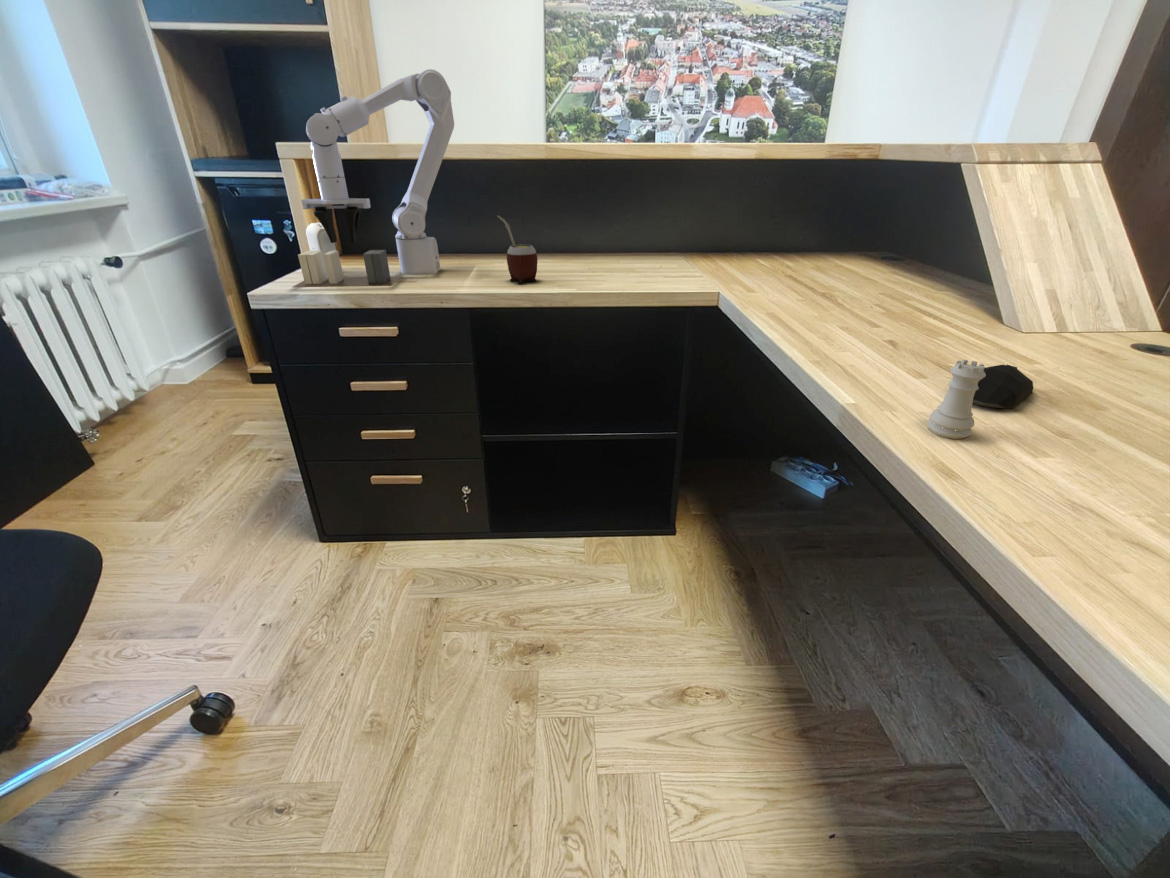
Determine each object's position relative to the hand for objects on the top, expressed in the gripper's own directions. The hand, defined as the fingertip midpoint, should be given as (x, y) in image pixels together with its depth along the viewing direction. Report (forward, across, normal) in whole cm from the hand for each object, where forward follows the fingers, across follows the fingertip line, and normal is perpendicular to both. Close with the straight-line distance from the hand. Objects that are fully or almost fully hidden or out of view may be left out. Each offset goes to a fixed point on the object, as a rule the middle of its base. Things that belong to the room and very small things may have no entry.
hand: (344, 242), depth 129 cm
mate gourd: (+9, +41, -4) cm, 42 cm away
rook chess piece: (+9, +94, -83) cm, 126 cm away
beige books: (+8, -6, -4) cm, 11 cm away
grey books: (+8, +8, -4) cm, 12 cm away
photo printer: (+9, -8, +6) cm, 13 cm away
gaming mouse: (+9, +107, -73) cm, 130 cm away
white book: (+8, -2, -4) cm, 9 cm away
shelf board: (+9, +1, -4) cm, 10 cm away
